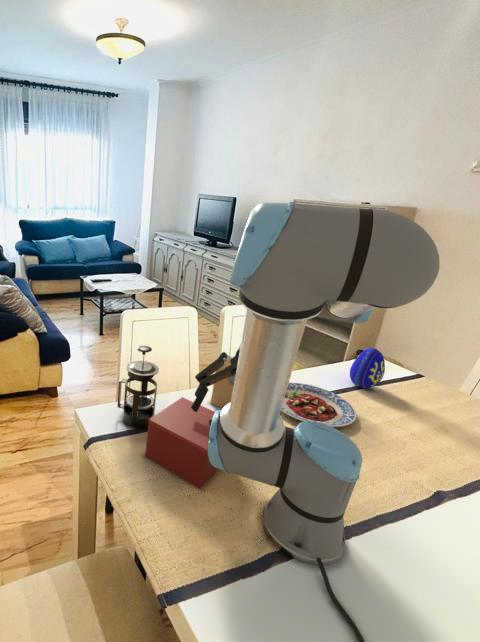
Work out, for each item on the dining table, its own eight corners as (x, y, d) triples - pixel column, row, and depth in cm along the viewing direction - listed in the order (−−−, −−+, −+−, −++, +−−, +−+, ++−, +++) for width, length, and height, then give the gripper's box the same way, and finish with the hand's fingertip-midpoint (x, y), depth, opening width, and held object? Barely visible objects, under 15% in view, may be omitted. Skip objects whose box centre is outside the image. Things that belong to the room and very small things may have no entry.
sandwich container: (258, 420, 115) (268, 376, 109) (210, 403, 122) (217, 361, 117) (265, 408, 122) (275, 365, 116) (218, 392, 129) (225, 352, 124)
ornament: (362, 394, 134) (376, 355, 128) (339, 382, 141) (351, 345, 136) (383, 389, 138) (397, 351, 132) (360, 378, 146) (372, 341, 140)
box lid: (239, 426, 94) (243, 406, 92) (209, 455, 84) (213, 433, 81) (181, 400, 104) (184, 381, 102) (148, 422, 94) (150, 402, 91)
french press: (159, 415, 115) (167, 344, 106) (151, 432, 107) (159, 358, 98) (122, 406, 118) (127, 337, 110) (112, 422, 110) (116, 349, 101)
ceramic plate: (374, 427, 115) (377, 419, 114) (301, 436, 109) (303, 428, 108) (315, 385, 138) (317, 378, 137) (251, 390, 132) (253, 383, 131)
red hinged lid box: (230, 457, 99) (236, 425, 95) (200, 489, 88) (206, 453, 84) (177, 430, 108) (181, 400, 104) (145, 456, 97) (148, 422, 94)
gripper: (311, 369, 90) (273, 450, 85) (215, 338, 105) (179, 406, 100) (309, 355, 84) (269, 441, 79) (208, 324, 99) (169, 395, 94)
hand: (218, 422), depth 90 cm, fingers open, 13 cm apart
